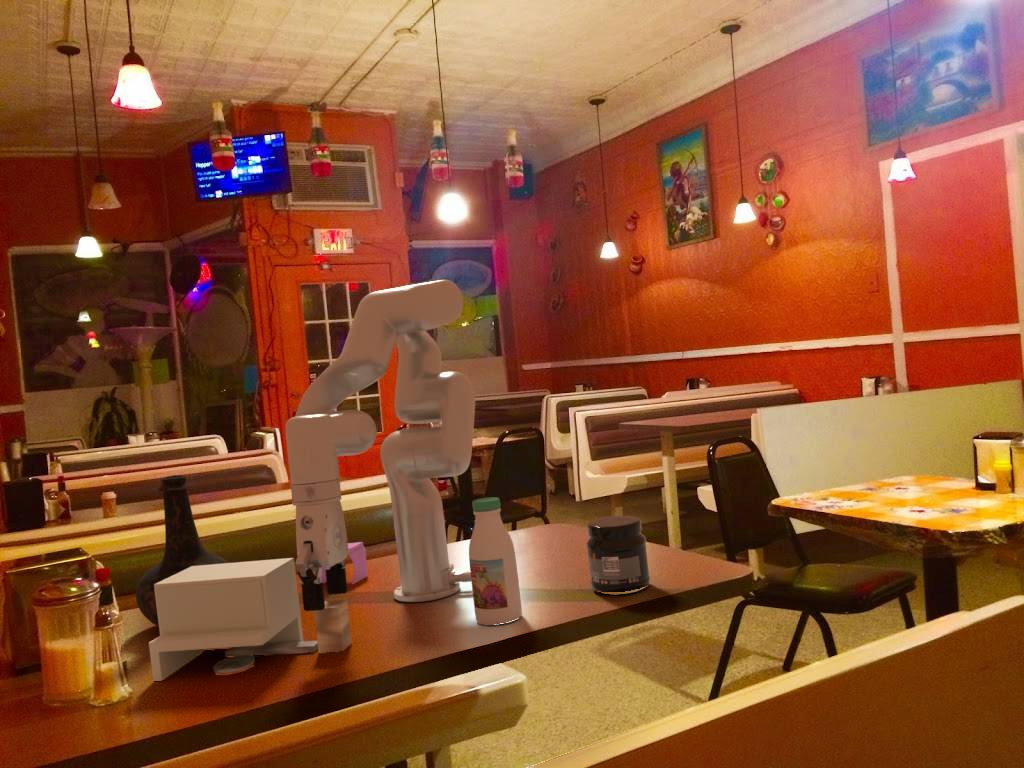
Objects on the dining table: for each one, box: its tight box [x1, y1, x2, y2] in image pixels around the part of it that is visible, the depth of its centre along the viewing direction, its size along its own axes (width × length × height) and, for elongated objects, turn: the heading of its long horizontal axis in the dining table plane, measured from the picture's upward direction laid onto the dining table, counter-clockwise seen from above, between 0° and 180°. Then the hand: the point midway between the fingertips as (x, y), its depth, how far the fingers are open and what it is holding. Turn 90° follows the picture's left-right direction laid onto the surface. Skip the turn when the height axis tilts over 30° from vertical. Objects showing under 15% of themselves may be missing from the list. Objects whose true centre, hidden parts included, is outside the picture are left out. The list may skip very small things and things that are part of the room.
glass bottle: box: [135, 474, 230, 628], centre depth 152 cm, size 18×18×28 cm
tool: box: [224, 599, 353, 657], centre depth 128 cm, size 20×4×7 cm, turn 82°
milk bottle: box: [468, 496, 523, 626], centre depth 132 cm, size 8×8×20 cm
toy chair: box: [320, 541, 369, 585], centre depth 171 cm, size 8×9×15 cm
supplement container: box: [585, 515, 651, 592], centre depth 142 cm, size 10×10×12 cm
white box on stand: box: [148, 557, 305, 682], centre depth 126 cm, size 18×14×14 cm
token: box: [212, 655, 256, 674], centre depth 123 cm, size 6×6×1 cm
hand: (326, 601), depth 126 cm, fingers open, 9 cm apart
